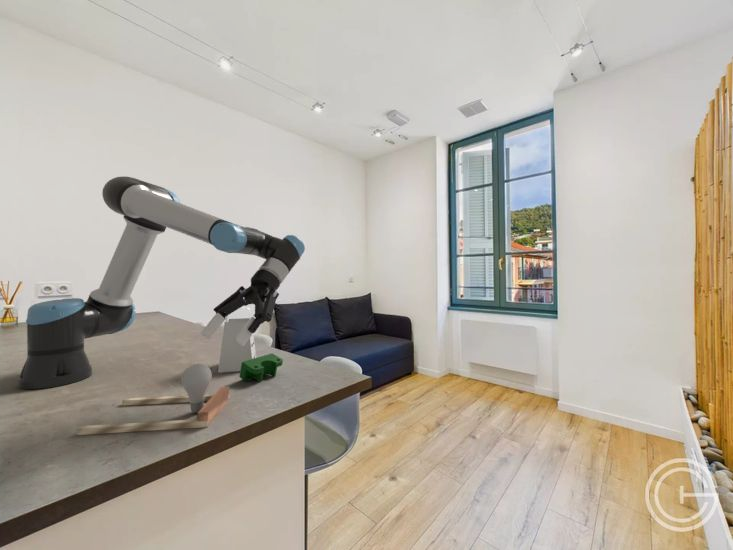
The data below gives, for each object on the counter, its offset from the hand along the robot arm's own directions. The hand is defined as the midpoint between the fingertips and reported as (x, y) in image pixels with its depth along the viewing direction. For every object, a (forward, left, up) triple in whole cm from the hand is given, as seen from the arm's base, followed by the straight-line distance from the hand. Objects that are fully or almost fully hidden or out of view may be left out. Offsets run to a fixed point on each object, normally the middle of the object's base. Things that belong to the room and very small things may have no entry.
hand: (221, 339), depth 74 cm
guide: (-11, -5, -16) cm, 20 cm away
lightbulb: (-4, -5, -16) cm, 17 cm away
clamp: (+6, +17, -16) cm, 24 cm away
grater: (-4, +29, -16) cm, 34 cm away
